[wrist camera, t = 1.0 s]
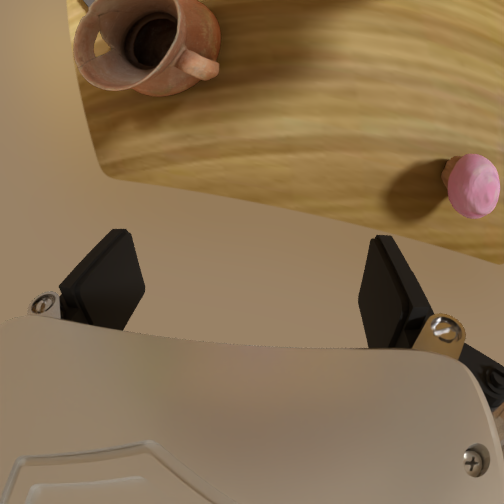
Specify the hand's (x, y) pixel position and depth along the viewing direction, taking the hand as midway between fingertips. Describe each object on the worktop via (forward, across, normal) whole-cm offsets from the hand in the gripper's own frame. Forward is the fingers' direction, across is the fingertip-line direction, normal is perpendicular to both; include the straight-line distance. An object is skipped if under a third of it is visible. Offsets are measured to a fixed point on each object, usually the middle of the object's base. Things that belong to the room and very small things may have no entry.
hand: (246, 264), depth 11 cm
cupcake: (+31, -28, +3) cm, 41 cm away
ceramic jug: (+30, +13, -14) cm, 36 cm away
